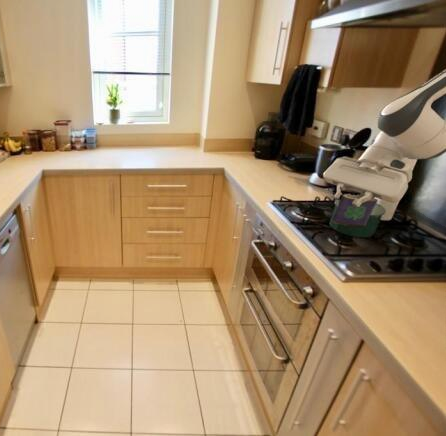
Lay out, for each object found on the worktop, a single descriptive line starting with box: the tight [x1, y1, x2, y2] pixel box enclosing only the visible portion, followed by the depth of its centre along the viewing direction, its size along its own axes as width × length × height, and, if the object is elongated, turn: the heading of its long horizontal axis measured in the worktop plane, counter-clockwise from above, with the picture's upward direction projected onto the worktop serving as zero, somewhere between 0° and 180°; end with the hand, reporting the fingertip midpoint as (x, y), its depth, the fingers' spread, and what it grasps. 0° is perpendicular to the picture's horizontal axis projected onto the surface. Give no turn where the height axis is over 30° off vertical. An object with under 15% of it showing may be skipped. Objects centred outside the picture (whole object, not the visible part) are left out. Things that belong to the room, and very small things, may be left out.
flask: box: [332, 192, 378, 226], centre depth 93 cm, size 9×3×11 cm, turn 75°
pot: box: [329, 203, 382, 238], centre depth 113 cm, size 14×19×8 cm
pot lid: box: [334, 199, 385, 216], centre depth 110 cm, size 15×15×5 cm
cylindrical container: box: [376, 158, 418, 221], centre depth 116 cm, size 7×7×25 cm
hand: (345, 201), depth 92 cm, fingers closed on flask, 4 cm apart
